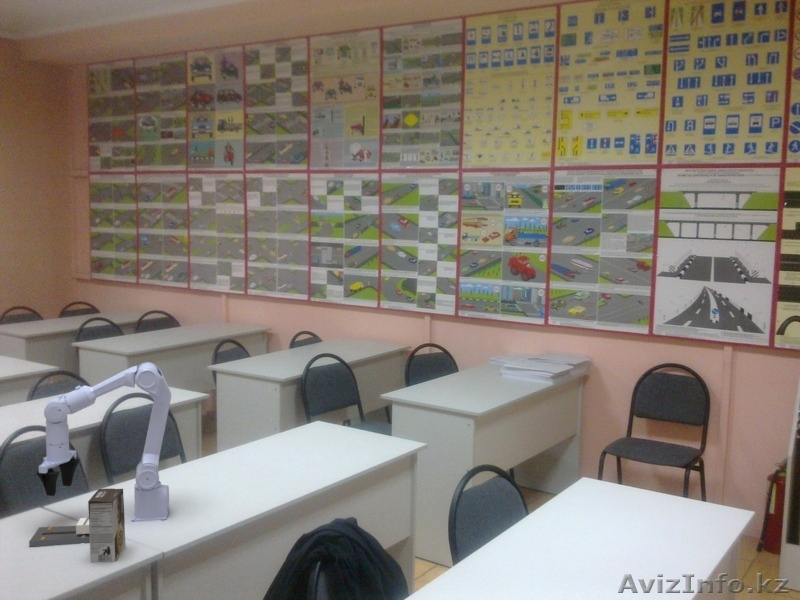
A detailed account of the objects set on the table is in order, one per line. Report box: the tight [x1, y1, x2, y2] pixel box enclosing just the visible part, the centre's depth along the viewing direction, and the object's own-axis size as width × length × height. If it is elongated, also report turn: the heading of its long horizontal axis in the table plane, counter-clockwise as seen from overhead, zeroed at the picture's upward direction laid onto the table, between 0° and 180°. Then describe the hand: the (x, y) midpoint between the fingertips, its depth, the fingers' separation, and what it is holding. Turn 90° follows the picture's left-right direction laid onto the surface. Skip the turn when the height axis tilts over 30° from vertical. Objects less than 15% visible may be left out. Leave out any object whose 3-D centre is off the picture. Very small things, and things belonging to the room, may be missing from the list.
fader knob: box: [75, 517, 90, 534], centre depth 202 cm, size 4×5×2 cm
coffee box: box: [87, 488, 126, 564], centre depth 190 cm, size 9×6×16 cm
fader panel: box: [28, 525, 90, 548], centre depth 201 cm, size 16×9×2 cm, turn 100°
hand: (59, 490), depth 210 cm, fingers open, 7 cm apart
